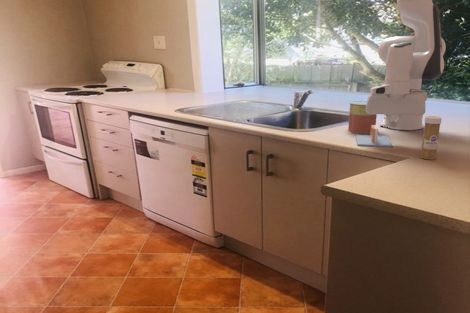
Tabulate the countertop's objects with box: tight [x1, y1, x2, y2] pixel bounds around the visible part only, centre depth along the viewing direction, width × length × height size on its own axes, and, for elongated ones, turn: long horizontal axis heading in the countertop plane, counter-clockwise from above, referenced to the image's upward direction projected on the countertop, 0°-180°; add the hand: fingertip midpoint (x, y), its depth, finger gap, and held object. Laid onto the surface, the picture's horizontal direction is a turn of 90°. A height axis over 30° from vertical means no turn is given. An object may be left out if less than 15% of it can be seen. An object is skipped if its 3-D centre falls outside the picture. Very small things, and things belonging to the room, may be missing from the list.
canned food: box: [347, 100, 378, 134], centre depth 159 cm, size 11×11×12 cm
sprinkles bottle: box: [419, 115, 442, 160], centre depth 117 cm, size 5×5×14 cm
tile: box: [369, 124, 379, 143], centre depth 140 cm, size 8×2×5 cm, turn 165°
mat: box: [355, 134, 394, 148], centre depth 141 cm, size 16×12×1 cm
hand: (392, 126), depth 137 cm, fingers closed
